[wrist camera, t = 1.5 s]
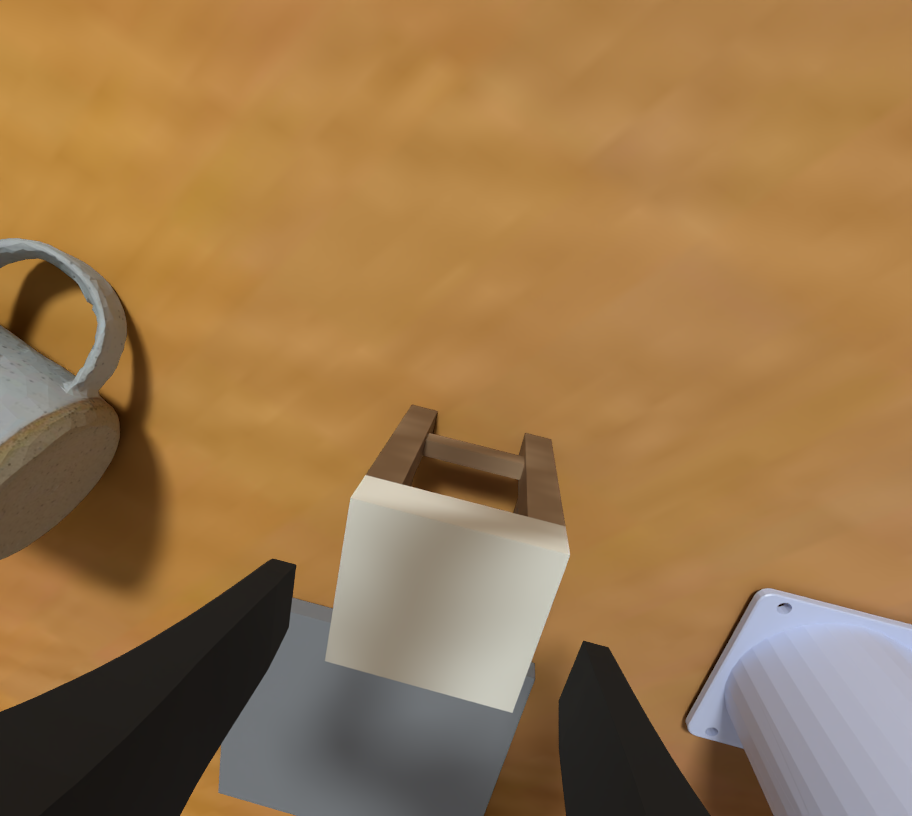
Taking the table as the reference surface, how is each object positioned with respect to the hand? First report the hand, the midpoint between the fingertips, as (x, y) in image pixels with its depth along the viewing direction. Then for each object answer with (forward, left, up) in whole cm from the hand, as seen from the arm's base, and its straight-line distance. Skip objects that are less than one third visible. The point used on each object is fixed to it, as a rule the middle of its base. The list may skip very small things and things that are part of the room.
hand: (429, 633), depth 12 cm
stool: (0, 0, -8) cm, 8 cm away
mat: (+2, +15, -8) cm, 17 cm away
